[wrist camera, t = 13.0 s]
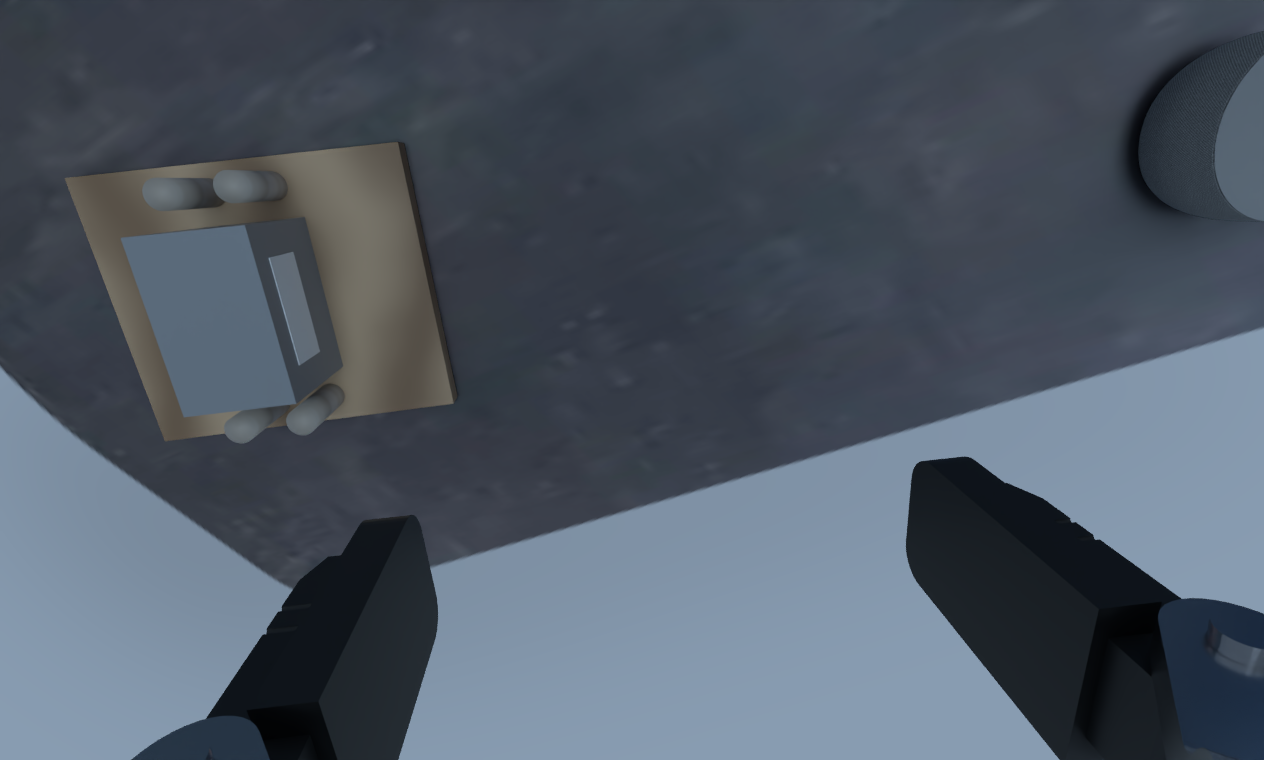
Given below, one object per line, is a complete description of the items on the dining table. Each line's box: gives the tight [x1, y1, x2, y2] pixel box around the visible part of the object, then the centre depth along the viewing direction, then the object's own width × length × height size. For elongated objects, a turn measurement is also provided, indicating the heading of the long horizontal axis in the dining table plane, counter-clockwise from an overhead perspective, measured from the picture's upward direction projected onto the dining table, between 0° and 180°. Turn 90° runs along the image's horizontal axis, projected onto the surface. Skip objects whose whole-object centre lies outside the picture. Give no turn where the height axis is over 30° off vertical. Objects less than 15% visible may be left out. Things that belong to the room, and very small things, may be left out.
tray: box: [65, 142, 457, 443], centre depth 31 cm, size 16×14×5 cm
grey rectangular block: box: [121, 217, 343, 417], centre depth 30 cm, size 5×8×6 cm, turn 6°
